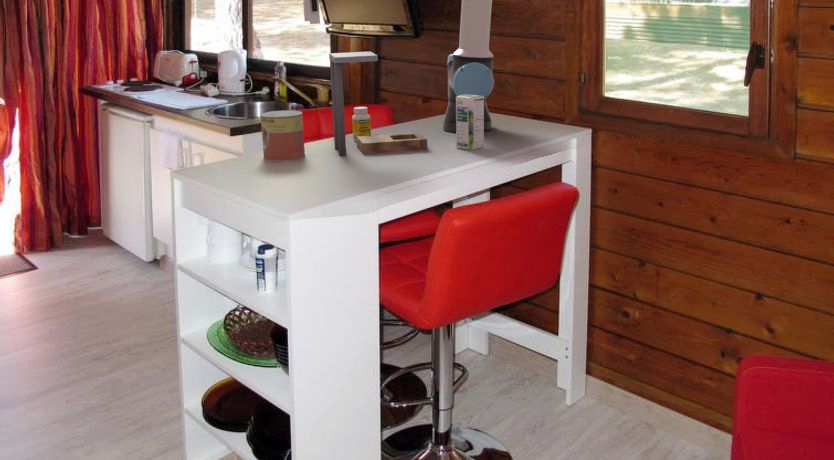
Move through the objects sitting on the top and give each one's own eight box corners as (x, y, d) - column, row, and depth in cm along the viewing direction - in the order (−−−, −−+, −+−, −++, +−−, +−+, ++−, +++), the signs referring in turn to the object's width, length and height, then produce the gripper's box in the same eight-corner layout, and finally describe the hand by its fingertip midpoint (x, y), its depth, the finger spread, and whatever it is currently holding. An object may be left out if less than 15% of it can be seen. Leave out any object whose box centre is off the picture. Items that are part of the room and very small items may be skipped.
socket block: (419, 142, 267) (418, 132, 266) (427, 149, 257) (427, 139, 256) (357, 146, 264) (356, 136, 263) (363, 154, 253) (362, 143, 252)
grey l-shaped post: (374, 145, 265) (370, 51, 258) (381, 153, 254) (377, 55, 246) (334, 148, 263) (329, 53, 255) (339, 156, 252) (334, 57, 244)
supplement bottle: (365, 137, 277) (364, 105, 275) (374, 140, 273) (373, 107, 270) (349, 140, 274) (348, 107, 272) (358, 142, 270) (357, 109, 267)
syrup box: (455, 148, 258) (454, 96, 254) (469, 144, 262) (468, 93, 258) (471, 150, 254) (470, 97, 250) (484, 147, 258) (484, 95, 254)
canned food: (259, 155, 255) (255, 112, 252) (298, 151, 260) (295, 109, 256) (269, 163, 245) (266, 118, 242) (310, 158, 250) (307, 114, 246)
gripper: (289, -55, 268) (294, 20, 273) (298, -57, 244) (303, 25, 250) (315, -56, 269) (319, 19, 275) (326, -58, 246) (331, 24, 252)
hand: (312, 22), depth 263 cm, fingers open, 13 cm apart
